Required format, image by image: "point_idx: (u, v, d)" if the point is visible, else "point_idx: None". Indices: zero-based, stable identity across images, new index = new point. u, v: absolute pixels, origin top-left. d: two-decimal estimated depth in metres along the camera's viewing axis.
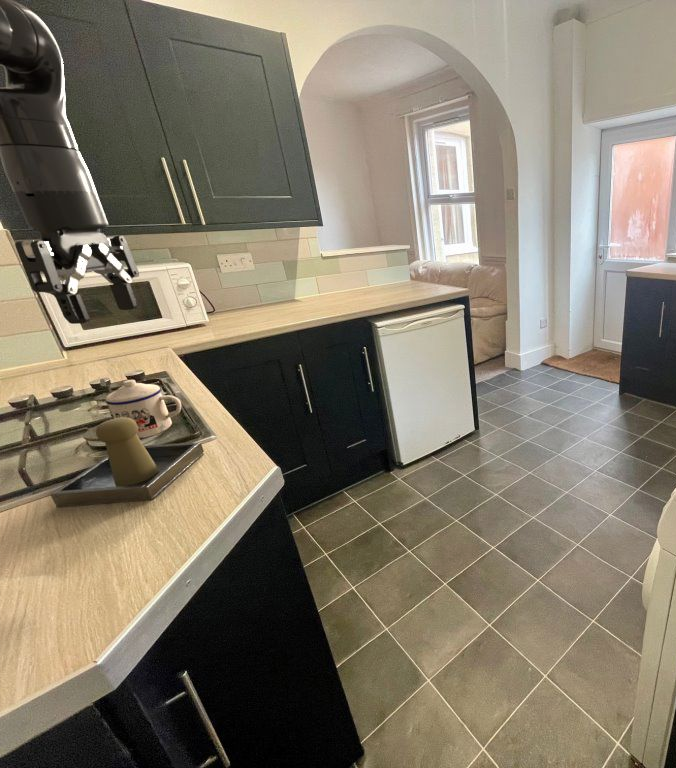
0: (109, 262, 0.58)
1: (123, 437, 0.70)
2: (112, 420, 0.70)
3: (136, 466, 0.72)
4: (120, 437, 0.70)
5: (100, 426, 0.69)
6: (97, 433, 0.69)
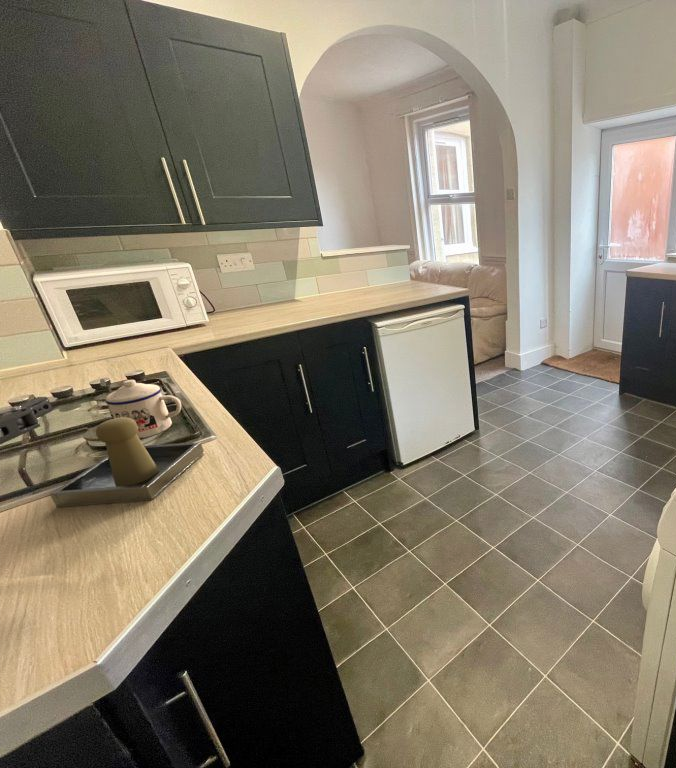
0: None
1: (123, 437, 0.70)
2: (112, 420, 0.70)
3: (136, 466, 0.72)
4: (120, 437, 0.70)
5: (100, 426, 0.69)
6: (97, 433, 0.69)
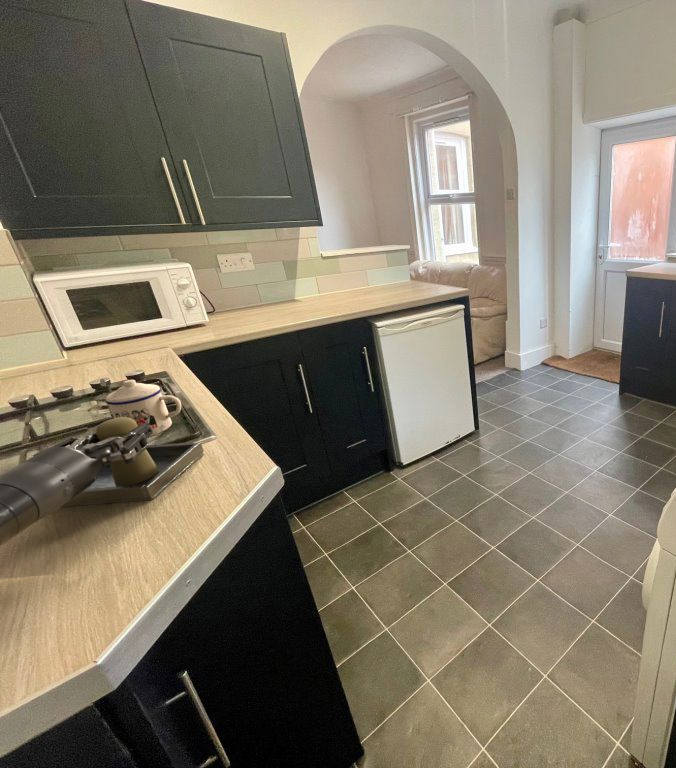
0: None
1: None
2: (112, 420, 0.70)
3: (136, 466, 0.72)
4: None
5: (101, 426, 0.69)
6: (97, 433, 0.69)
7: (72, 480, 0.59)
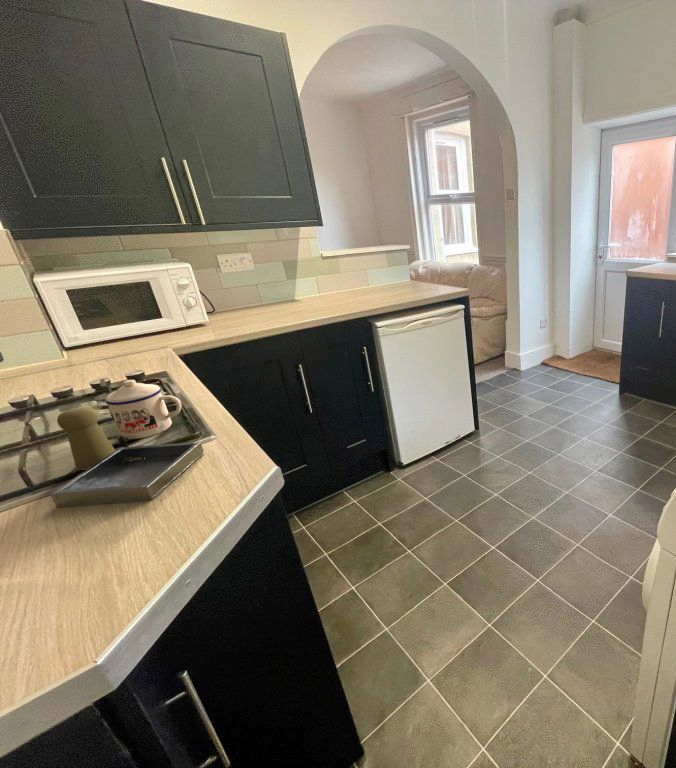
0: None
1: (83, 425, 0.76)
2: (73, 409, 0.76)
3: (95, 453, 0.78)
4: (79, 425, 0.75)
5: (61, 415, 0.75)
6: (58, 421, 0.74)
7: None
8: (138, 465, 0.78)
